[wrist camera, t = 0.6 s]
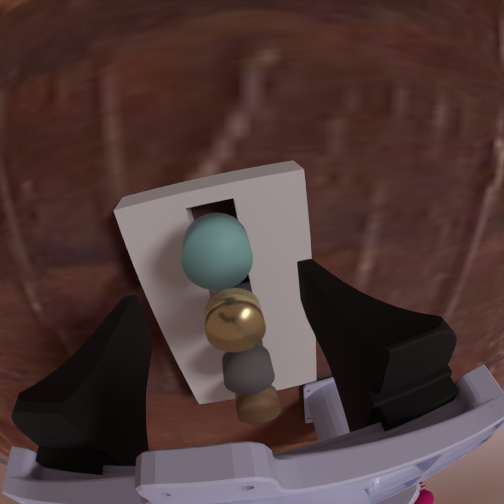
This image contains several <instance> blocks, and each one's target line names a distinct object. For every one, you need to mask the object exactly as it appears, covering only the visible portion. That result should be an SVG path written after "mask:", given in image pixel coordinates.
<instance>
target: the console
mask: <svg viewBox="0 0 504 504" xmlns="http://www.w3.org/2000/svg"><path fill="white" fill-rule="evenodd" d="M232 198H233V200H234V205H235V210H236V216H237V220H238V221H239V222H240V223H241V224H242V225H243V226H244V228H245V230H246V232H247V235H248V239H249V243H250V246H251V250H252V253H253V264H252V268H251V270H250V272H249V274H248V276H249V281H250V282H246V283H241V285H242V287H243V289H245V290H248V291H250V292H252V293H253V294H254V295H255V296H256V297H257V298H258V300H259V302H260V305H261V309H262V313H263V317H264V321H265V325H266V332H265V335H264V337H263V339H262V340H261V341H260V342H259V343H258V344H259V345H261V346H263V347H265V348H266V349H267V350H268V352H269V354H270V358H271V362H272V366H273V370H274V374H275V379H274V382H273V383H272V384H271V385H272V386H274V387H275V388H276V390H281V389H285V388H289V387H294V386H298V385H302V384H306V383H310V382H313V381H316V338H315V334H314V332H313V330H312V328H311V326H310V324H309V322H308V320H307V318H306V315H305V312H304V309H303V306H302V303H301V300H300V289H299V278H298V268H297V261H302V260H306V259H312V257H311V243H310V230H309V218H308V206H307V196H306V185H305V176H304V169H303V168H302V167H300V166H299V165H298V164H297V163H296V162H294V161H287V162H281V163H275V164H269V165H264V166H258V167H253V168H247V169H242V170H237V171H232V172H227V173H222V174H217V175H212V176H208V177H203V178H199V179H194V180H190V181H185V182H181V183H177V184H172V185H168V186H164V187H160V188H156V189H152V190H148V191H144V192H141V193H137V194H133V195H129V196H126V197H123V198H122V199H121V200H120V202H119V203H118V205H117V206H116V208H115V209H114V210H113V211H114V214H115V217H116V219H117V222H118V225H119V228H120V231H121V234H122V236H123V239H124V242H125V244H126V247H127V250H128V252H129V255H130V258H131V260H132V263H133V265H134V268H135V270H136V273H137V275H138V278H139V280H140V283H141V285H142V287H143V290H144V292H145V295H146V297H147V299H148V302H149V304H150V306H151V308H152V311H153V313H154V315H155V317H156V320H157V322H158V324H159V326H160V328H161V330H162V333H163V335H164V337H165V339H166V341H167V343H168V345H169V347H170V349H171V351H172V353H173V355H174V357H175V359H176V361H177V363H178V365H179V367H180V369H181V371H182V373H183V375H184V377H185V379H186V381H187V383H188V385H189V386H190V388H191V390H192V392H193V394H194V396H195V398H196V399H197V401H198V403H199V404H205V403H211V402H218V401H224V400H230V399H235V394H236V393H234V392H231V391H230V390H228V389H227V388H226V387H225V385H224V377H223V367H222V358H223V355H224V354H225V352H226V351H222V350H219V349H217V348H215V347H214V346H212V345H211V344H210V343H209V341H208V340H207V338H206V332H205V306H206V303H207V301H208V300H209V299H210V298H211V296H213V295H214V294H215V293H217V290H208V289H204V288H201V287H199V286H197V285H195V284H194V283H193V282H191V281H190V280H189V279H188V277H187V276H186V274H185V273H184V270H183V268H182V262H181V258H182V249H183V241H184V235H185V232H186V230H187V228H188V227H189V225H190V224H191V223H192V222H193V221H194V219H193V215H192V211H191V207H194V206H199V205H203V204H208V203H213V202H217V201H222V200H227V199H232Z"/></svg>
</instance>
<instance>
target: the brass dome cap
mask: <svg viewBox="0 0 504 504" xmlns="http://www.w3.org/2000/svg"><path fill="white" fill-rule="evenodd" d="M205 332H206V338H207V340H208V341H209V343H210V344H211V345H212V346H214V347H215V348H217V349H219V350H222V351H226V352H241V351H245V350H248V349H250V348H252V347H254V346H256V345H257V344H258V343H259V342H260V341H261V340H262V339H263V337H264V335H265V332H266V325H265V321H264V317H263V313H262V309H261V305H260V302H259V300H258V298H257V297H256V296H255V295H254V294H253V293H252V292H250V291H248V290H245V289H243V287H242V285H241V284H240V283H239V284H238V285H236V286H234V287H232V288H229V289H225V290H217V293H215V294H214V295H213V296H211V298H210V299H209V300H208V301H207V303H206V306H205Z"/></svg>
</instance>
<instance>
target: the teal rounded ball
mask: <svg viewBox="0 0 504 504" xmlns="http://www.w3.org/2000/svg"><path fill="white" fill-rule="evenodd" d="M181 262H182V268H183V270H184V273H185V274H186V276H187V277H188V279H189V280H190V281H191V282H193V283H194V284H195V285H197V286H199V287H201V288H204V289H208V290H225V289H229V288H232V287H234V286H236V285H238V284H239V283H241V282H242V281H243V280H244V279H245V278H246V277H247V275H248V274H249V272H250V270H251V268H252V264H253V253H252V250H251V246H250V243H249V239H248V235H247V232H246V230H245V228H244V226H243V225H242V224H241V223H240V222H239V221H238V220H237V219H236V218H234V217H232V216H230V215H228V214H224V213H209V214H205V215H203V216H200V217H199V218H197V219H196V220H194V221H193V222H192V223H191V224H190V225H189V227H188V228H187V230H186V232H185V235H184V241H183V249H182V258H181Z"/></svg>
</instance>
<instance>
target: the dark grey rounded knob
mask: <svg viewBox="0 0 504 504" xmlns="http://www.w3.org/2000/svg"><path fill="white" fill-rule="evenodd" d="M222 367H223V377H224V385H225V387H226V388H227V389H228V390H230V391H231V392H234V393H237V394H254V393H258V392H261V391H263V390H265V389H267V388H268V387H269V386H271V384H272V383H273V382H274V379H275V374H274V370H273V366H272V362H271V358H270V354H269V352H268V350H267V349H266V348H265V347H263V346H261V345H259V344H257V345H256V346H254V347H252V348H250V349H248V350H245V351H241V352H225V354H224V355H223V358H222Z"/></svg>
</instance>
